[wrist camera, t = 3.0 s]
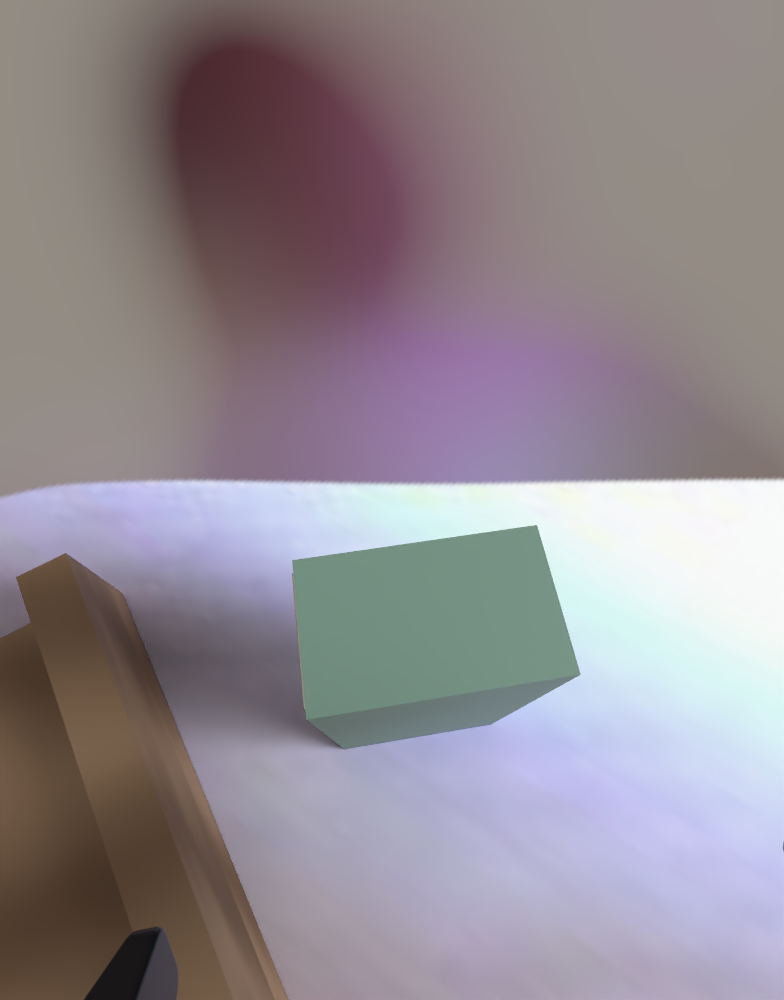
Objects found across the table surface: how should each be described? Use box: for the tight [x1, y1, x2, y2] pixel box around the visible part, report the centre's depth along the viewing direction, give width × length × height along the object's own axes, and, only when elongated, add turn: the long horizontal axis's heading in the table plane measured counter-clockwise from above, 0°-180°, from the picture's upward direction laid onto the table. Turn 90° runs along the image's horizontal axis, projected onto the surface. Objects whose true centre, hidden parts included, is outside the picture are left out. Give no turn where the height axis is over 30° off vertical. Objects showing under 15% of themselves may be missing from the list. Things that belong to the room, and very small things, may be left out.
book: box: [292, 525, 580, 749], centre depth 15 cm, size 3×5×10 cm, turn 99°
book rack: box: [0, 553, 288, 1000], centre depth 15 cm, size 18×10×4 cm, turn 31°
